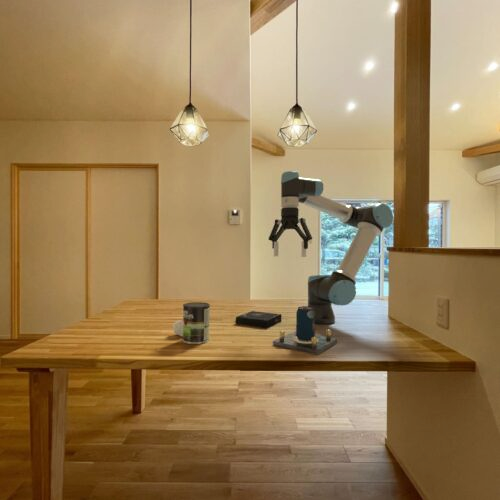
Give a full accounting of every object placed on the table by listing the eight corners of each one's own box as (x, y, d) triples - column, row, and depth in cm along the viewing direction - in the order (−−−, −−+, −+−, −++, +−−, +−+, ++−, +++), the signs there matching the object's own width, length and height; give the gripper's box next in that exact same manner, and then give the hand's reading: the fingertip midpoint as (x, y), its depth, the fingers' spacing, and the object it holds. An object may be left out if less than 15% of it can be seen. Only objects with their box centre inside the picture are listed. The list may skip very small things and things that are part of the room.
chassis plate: (295, 334, 133) (295, 322, 133) (337, 342, 122) (337, 329, 122) (272, 345, 118) (272, 331, 118) (317, 354, 108) (317, 340, 108)
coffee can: (192, 346, 117) (193, 307, 117) (177, 340, 124) (177, 304, 124) (214, 340, 124) (215, 304, 124) (199, 335, 131) (199, 301, 131)
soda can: (317, 341, 118) (317, 308, 118) (300, 342, 116) (300, 309, 116) (310, 336, 125) (310, 305, 125) (293, 337, 123) (293, 306, 123)
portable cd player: (251, 318, 166) (251, 310, 166) (281, 322, 158) (281, 314, 158) (235, 325, 152) (235, 316, 152) (267, 329, 144) (267, 320, 144)
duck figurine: (202, 339, 133) (204, 315, 140) (200, 332, 127) (202, 307, 134) (173, 339, 132) (177, 315, 139) (170, 332, 126) (174, 306, 133)
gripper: (261, 208, 142) (260, 256, 142) (312, 204, 128) (312, 257, 128) (270, 210, 149) (269, 256, 149) (320, 206, 134) (319, 256, 134)
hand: (289, 256), depth 138 cm, fingers open, 13 cm apart
